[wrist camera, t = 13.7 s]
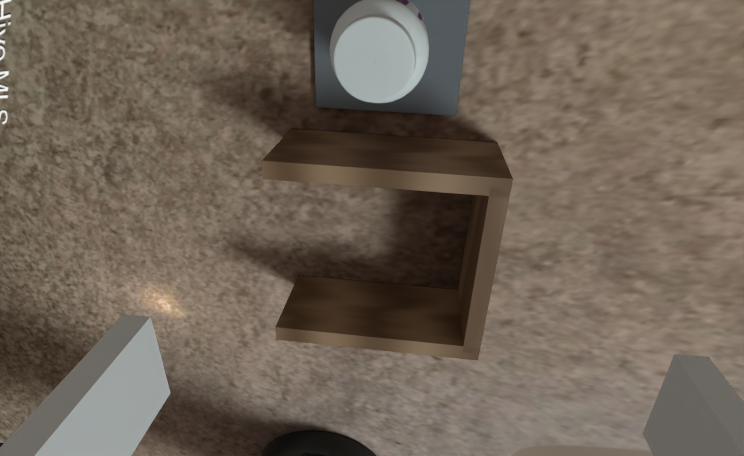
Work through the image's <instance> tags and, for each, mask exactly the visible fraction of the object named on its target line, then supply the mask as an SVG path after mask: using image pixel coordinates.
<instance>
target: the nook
mask: <svg viewBox="0 0 744 456" xmlns="http://www.w3.org/2000/svg"><path fill="white" fill-rule="evenodd" d="M262 169H263V179H272V180H285V181H298V182H311V183H325V184H338V185H351V186H364V187H378V188H391V189H404V190H417V191H430V192H444V193H457V194H470V195H472V202H471V208H470V215H469V222H468V228H467V235H466V241H465V248H464V255H463V261H462V268H461V274H460V281H459V288H458V290H453V289H442V288H432V287H421V286H410V285H399V284H388V283H377V282H366V281H355V280H344V279H334V278H323V277H312V276H301V275H298V278H297V280H296V282H295V284H294V287H293V289H292V291H291V294H290V296H289V298H288V300H287V303H286V305H285V307H284V309H283V312H282V314H281V316H280V318H279V321H278V323H277V325H276V339H277V340H286V341H296V342H306V343H315V344H325V345H335V346H344V347H354V348H364V349H373V350H383V351H393V352H402V353H412V354H422V355H431V356H441V357H451V358H460V359H470V360H478V356H479V351H480V346H481V341H482V336H483V331H484V325H485V320H486V315H487V310H488V305H489V299H490V294H491V289H492V284H493V279H494V274H495V268H496V263H497V258H498V253H499V248H500V243H501V237H502V232H503V227H504V222H505V217H506V211H507V206H508V201H509V196H510V191H511V186H512V180H513V178H512V176H511V174H510V171H509V169H508V166H507V164H506V162H505V159H504V157H503V155H502V152H501V150H500V147H499V145H498V143H497V142H482V141H467V140H452V139H437V138H422V137H406V136H391V135H376V134H361V133H346V132H331V131H316V130H301V129H291V130H290V131H289V132H288V133H287V134H286V135H285V136H284V137H283V138H282V140H281V141H280V142H279V143H278V144H277V145H276V146H275V147H274V148H273V149H272V150H271V151H270V152H269V154H268V155H267V156H266V157H265V158H264V159H263V160H262Z"/></svg>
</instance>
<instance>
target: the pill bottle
mask: <svg viewBox="0 0 744 456" xmlns="http://www.w3.org/2000/svg"><path fill="white" fill-rule="evenodd" d="M428 57H429V43H428V32H427V27H426V24H425V21H424V18H423V16H422V14H421V13H420V11H419V10H418V8H417V7H416V6H415V5H414V4H413V3H412V2H410V1H409V0H361V1H359V2H357V3H355V4H353V5H352V6H351V7H349V8H348V9H347V10H346V11H345V12H344V13H343V14H342V16H341V17H340V18H339V19H338V21H337V23H336V25H335V27H334V30H333V33H332V36H331V41H330V59H331V64H332V67H333V70H334V73H335V75H336V77H337V79H338V80H339V82H340V84H341V85H342V86H343V88H344V89H345V90H346V91H347V92H348V93H349V94H351V95H352V96H354V97H355V98H357V99H359V100H362V101H365V102H371V103H387V102H392V101H395V100H397V99H400V98H402V97H403V96H405V95H406V94H408V93H409V92H410V91H411V90H413V89H414V87H415V86H416V85H417V84H418V83H419V81H420V80H421V78H422V76H423V74H424V72H425V69H426V66H427V63H428Z"/></svg>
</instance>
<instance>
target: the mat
mask: <svg viewBox="0 0 744 456" xmlns="http://www.w3.org/2000/svg"><path fill="white" fill-rule="evenodd" d="M313 1H314V46H315V90H316V107H321V108H337V109H353V110H369V111H385V112H401V113H417V114H433V115H449V116H456V112H457V104H458V96H459V87H460V79H461V71H462V63H463V55H464V46H465V38H466V30H467V22H468V14H469V5H470V0H409V1H410V2H412V3H413V4H414V5H415V6H416V7H417V8H418V10H419V11H420V13H421V14H422V16H423V18H424V21H425V24H426V27H427V32H428V43H429V57H428V63H427V66H426V69H425V72H424V74H423V76H422V78H421V80H420V81H419V83H418V84H417V85H416V86H415V87H414V89H413V90H411V91H410V92H409V93H408V94H406V95H405V96H403V97H402V98H400V99H397V100H395V101H392V102H387V103H371V102H365V101H362V100H359V99H357V98H355V97H354V96H352V95H351V94H349V93H348V92H347V91H346V90H345V89H344V88H343V86H342V85H341V84H340V82H339V80H338V79H337V77H336V75H335V73H334V70H333V67H332V64H331V59H330V41H331V36H332V33H333V30H334V27H335V25H336V23H337V21H338V19H339V18H340V17H341V16H342V14H343V13H344V12H345V11H346V10H347V9H348V8H349V7H351V6H352V5H353V4H355V3H357V2H359V1H361V0H313Z"/></svg>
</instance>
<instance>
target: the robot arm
mask: <svg viewBox="0 0 744 456" xmlns="http://www.w3.org/2000/svg"><path fill="white" fill-rule="evenodd" d="M169 395H170V389H169V385H168V381H167V378H166V374H165V370H164V366H163V362H162V359H161V355H160V351H159V347H158V343H157V340H156V336H155V332H154V328H153V324H152V321H151V317H144V316H130V315H122V316H121V318H120V319H119V320H118V321H117V322H116V323H115V324H114V325H113V326H112V327H111V328H110V329H109V330H108V332H107V333H106V334H105V335H104V336H103V337H102V338H101V339H100V340H99V341H98V342H97V343H96V345H95V346H94V347H93V348H92V349H91V350H90V351H89V352H88V353H87V354H86V355H85V356H84V357H83V359H82V360H81V361H80V362H79V363H78V364H77V365H76V366H75V367H74V368H73V369H72V370H71V371H70V373H69V374H68V375H67V376H66V377H65V378H64V379H63V380H62V381H61V382H60V383H59V384H58V386H57V387H56V388H55V389H54V390H53V391H52V392H51V393H50V394H49V395H48V396H47V397H46V398H45V400H44V401H43V402H42V403H41V404H40V405H39V406H38V407H37V408H36V409H35V410H34V411H33V413H32V414H31V415H30V416H29V417H28V418H27V419H26V420H25V421H24V422H23V423H22V424H21V425H20V427H19V428H18V429H17V430H16V431H15V432H14V433H13V434H12V435H11V436H10V437H9V438H8V439H7V441H6V442H5V443H0V456H131V455H132V454H133V452H134V450H135V449H136V447H137V446H138V444H139V443H140V441H141V439H142V438H143V436H144V435H145V433H146V431H147V430H148V428H149V427H150V425H151V423H152V422H153V420H154V419H155V417H156V415H157V414H158V412H159V411H160V409H161V408H162V406H163V404H164V403H165V401H166V400H167V398H168V396H169ZM643 435H644V437H645V439H646V441H647V443H648V445H649V447H650V449H651V451H652V453H653V455H654V456H744V402H743V401H742V399H741V398H740V397H739V395H738V394H737V393H736V392H735V390H734V389H733V388H732V386H731V385H730V384H729V383H728V381H727V380H726V379H725V377H724V376H723V375H722V374H721V372H720V371H719V370H718V368H717V367H716V366H715V365H714V363H713V362H712V361H711V359H710V358H709V357H704V356H690V355H676V354H675V355H674V357H673V360H672V362H671V365H670V367H669V370H668V372H667V375H666V377H665V380H664V382H663V385H662V387H661V389H660V392H659V394H658V397H657V399H656V402H655V404H654V407H653V409H652V412H651V414H650V417H649V419H648V422H647V424H646V427H645V429H644V432H643ZM261 456H375V455H374V454H373V453H372V452H371V451H369V450H368V449H367V448H365V447H364V446H362V445H360V444H359V443H357V442H355V441H353V440H350V439H348V438H345V437H342V436H339V435H336V434H331V433H326V432H317V431H304V432H296V433H291V434H287V435H284V436H282V437H279V438H277V439H275V440H274V441H272V442H271V443H270V444H269V445H268V446H267V447H266V448H265V449H264V451H263V452H262V454H261Z"/></svg>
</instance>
